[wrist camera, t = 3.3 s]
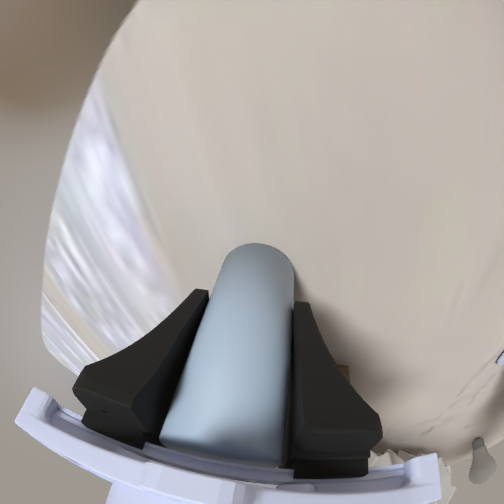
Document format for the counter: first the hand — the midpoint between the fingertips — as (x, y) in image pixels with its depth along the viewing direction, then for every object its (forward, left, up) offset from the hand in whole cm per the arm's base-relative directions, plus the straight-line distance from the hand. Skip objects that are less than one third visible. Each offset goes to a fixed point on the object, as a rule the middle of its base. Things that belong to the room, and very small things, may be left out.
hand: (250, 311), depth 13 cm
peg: (0, 0, -3) cm, 3 cm away
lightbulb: (-46, +36, -3) cm, 58 cm away
